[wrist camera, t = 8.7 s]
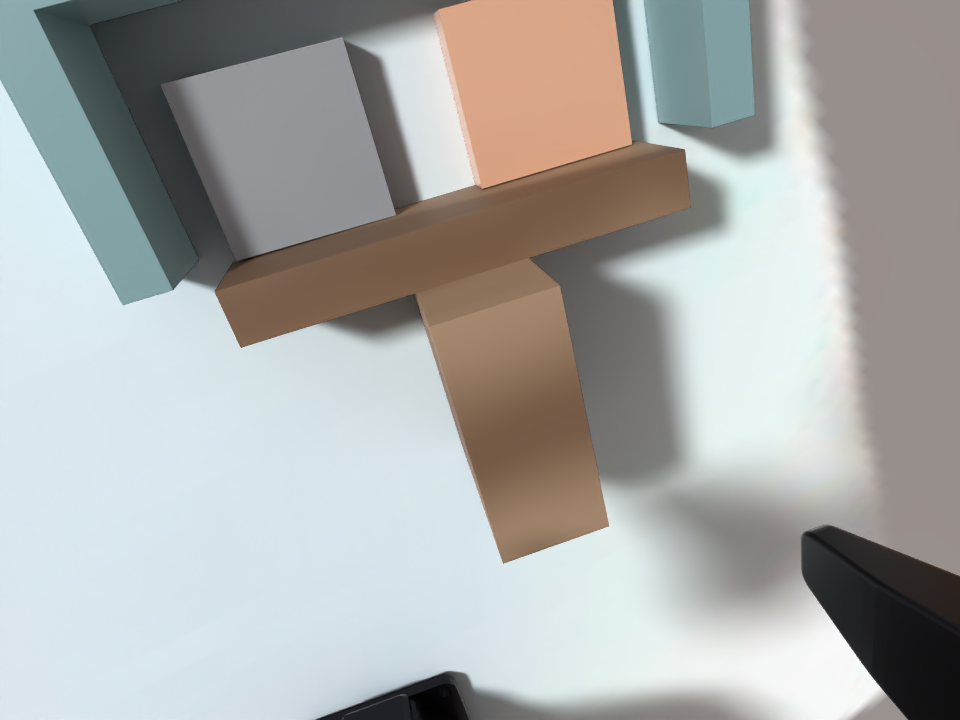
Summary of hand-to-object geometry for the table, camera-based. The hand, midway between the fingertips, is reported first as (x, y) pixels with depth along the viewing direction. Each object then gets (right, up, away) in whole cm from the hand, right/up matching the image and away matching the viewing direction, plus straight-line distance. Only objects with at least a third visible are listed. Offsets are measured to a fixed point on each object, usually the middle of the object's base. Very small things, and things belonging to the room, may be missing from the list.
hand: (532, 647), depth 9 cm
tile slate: (-6, +10, +8) cm, 14 cm away
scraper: (-1, +5, +11) cm, 12 cm away
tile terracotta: (+1, +12, +9) cm, 15 cm away
